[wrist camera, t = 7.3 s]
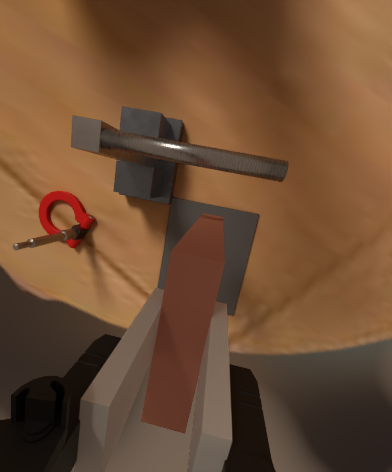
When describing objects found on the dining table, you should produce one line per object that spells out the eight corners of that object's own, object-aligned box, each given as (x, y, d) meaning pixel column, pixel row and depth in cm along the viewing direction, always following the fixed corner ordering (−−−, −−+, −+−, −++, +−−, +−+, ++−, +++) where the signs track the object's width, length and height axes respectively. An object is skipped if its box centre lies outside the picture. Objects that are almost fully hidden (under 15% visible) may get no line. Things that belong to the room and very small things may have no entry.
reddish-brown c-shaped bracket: (203, 212, 26) (171, 250, 10) (222, 217, 26) (224, 262, 10) (188, 286, 28) (141, 421, 12) (206, 291, 28) (184, 433, 12)
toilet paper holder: (133, 115, 34) (41, 39, 17) (263, 138, 33) (311, 81, 15) (124, 193, 37) (37, 198, 19) (244, 218, 35) (266, 246, 18)
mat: (172, 197, 36) (172, 197, 36) (258, 214, 35) (259, 214, 35) (156, 296, 40) (155, 297, 40) (233, 314, 39) (233, 315, 39)
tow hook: (36, 219, 40) (75, 251, 40) (-53, 229, 27) (5, 276, 27) (58, 181, 38) (99, 215, 38) (-27, 173, 26) (36, 224, 26)
